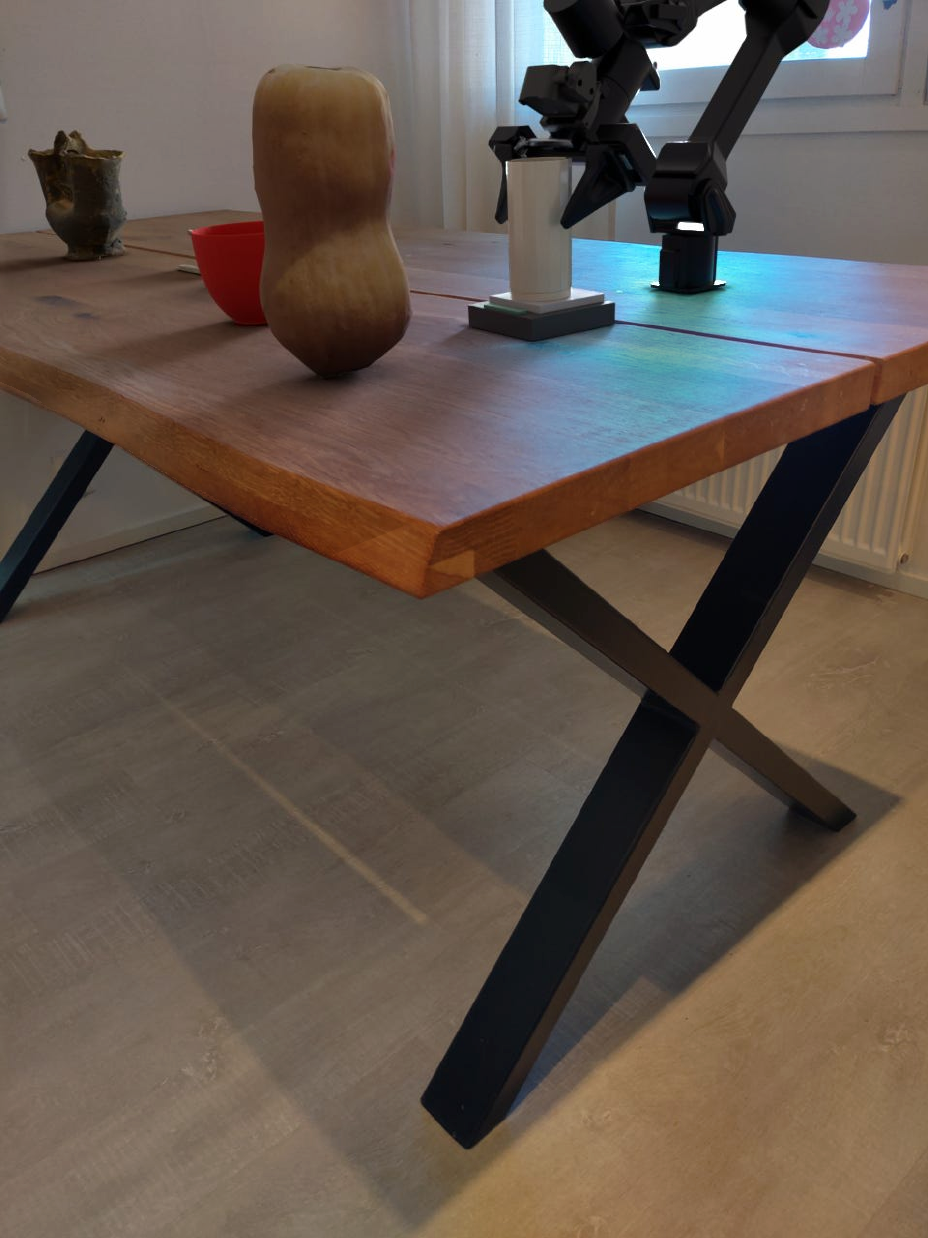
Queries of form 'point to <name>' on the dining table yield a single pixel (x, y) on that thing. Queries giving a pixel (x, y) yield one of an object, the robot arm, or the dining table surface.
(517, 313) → the scale
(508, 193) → the tumbler
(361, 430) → the dining table surface
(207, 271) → the ceramic cup
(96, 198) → the pottery vessel
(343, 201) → the butternut squash
